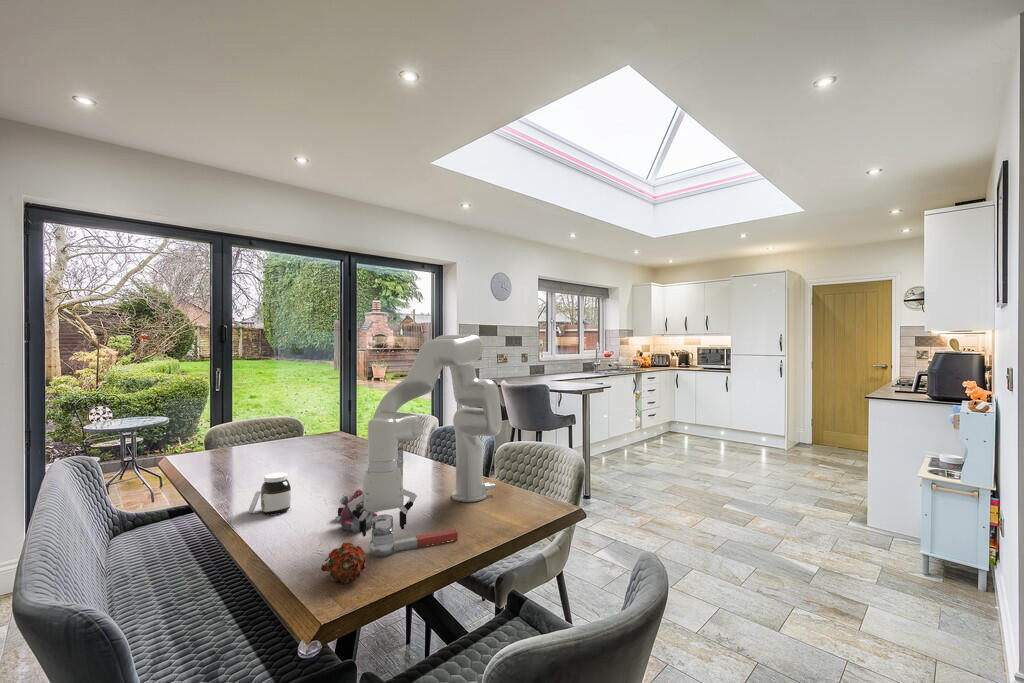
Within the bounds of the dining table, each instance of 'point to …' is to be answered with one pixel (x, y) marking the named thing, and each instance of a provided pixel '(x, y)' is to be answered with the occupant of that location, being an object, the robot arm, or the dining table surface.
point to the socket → (382, 530)
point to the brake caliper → (348, 518)
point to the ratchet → (413, 542)
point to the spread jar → (273, 494)
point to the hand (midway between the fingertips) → (383, 530)
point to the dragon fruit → (345, 563)
